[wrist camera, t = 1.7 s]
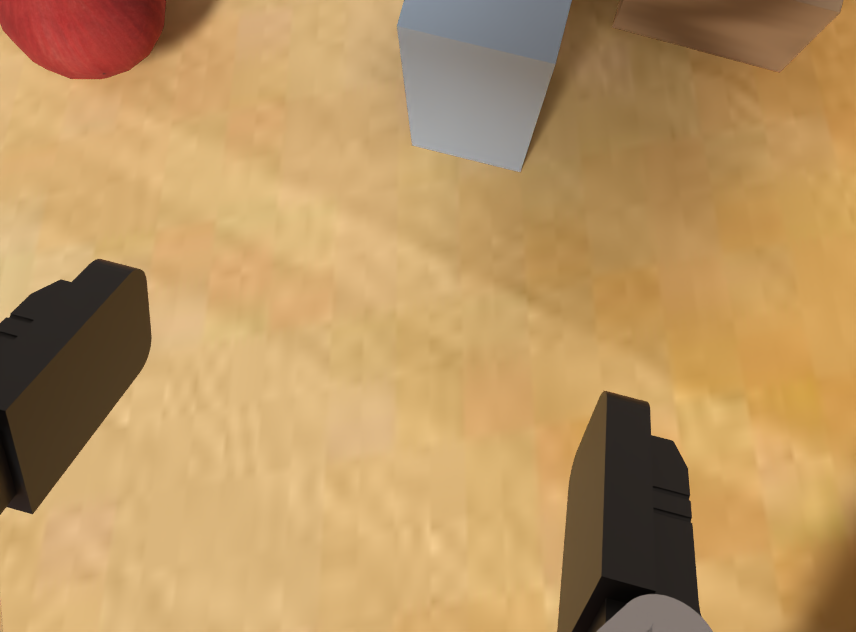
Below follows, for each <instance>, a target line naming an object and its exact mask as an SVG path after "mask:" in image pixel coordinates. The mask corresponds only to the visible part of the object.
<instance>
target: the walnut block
mask: <svg viewBox="0 0 856 632" xmlns="http://www.w3.org/2000/svg"><path fill="white" fill-rule="evenodd" d="M842 3H843V0H619V4H618V7H617V11H616V14H615V18H614V21H613V25H612V27H613V28H617V29H620V30H624V31H628V32H631V33H635V34H639V35H643V36H646V37H650V38H654V39H657V40H661V41H665V42H668V43H672V44H676V45H680V46H683V47H687V48H691V49H694V50H698V51H702V52H706V53H709V54H713V55H717V56H720V57H724V58H728V59H732V60H735V61H739V62H743V63H746V64H750V65H754V66H758V67H761V68H765V69H769V70H772V71H776V72H781V71H782V70H783V69H784V68H785V67H786V66H787V65H788V64H789V63H790V62H791V61H792V60H793V59H794V58H795V57H796V56H797V55H798V54H799V53H800V52H801V51H802V50H803V49H804V48H805V47H806V46H807V45H808V44H809V43H810V42H811V41H812V40H813V39H814V38H815V37H816V36H817V35H818V34H819V33H820V32H821V31H822V30H823V29H824V28H825V27H826V26H827V25H828V24H829V23H830V22H831V21H832V20H833V19H834V18H835V17H836V16H837V15H838V14H839V13H840V11H841V7H842Z"/></svg>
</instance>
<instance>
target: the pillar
mask: <svg viewBox="0 0 856 632" xmlns="http://www.w3.org/2000/svg"><path fill="white" fill-rule="evenodd" d="M571 2H572V0H404V3H403V6H402V10H401V13H400V17H399V20H398V24H397V30H398V38H399V46H400V54H401V62H402V69H403V77H404V85H405V93H406V101H407V109H408V116H409V124H410V132H411V140H412V145H413V146H417V147H421V148H425V149H429V150H433V151H437V152H441V153H445V154H449V155H453V156H457V157H461V158H465V159H469V160H473V161H477V162H481V163H485V164H489V165H493V166H497V167H501V168H505V169H509V170H513V171H517V172H521V168H522V165H523V162H524V159H525V156H526V153H527V150H528V147H529V144H530V141H531V138H532V135H533V132H534V129H535V125H536V122H537V119H538V116H539V113H540V110H541V107H542V104H543V101H544V98H545V95H546V92H547V89H548V85H549V82H550V79H551V76H552V73H553V70H554V67H555V64H556V60H557V56H558V52H559V48H560V44H561V40H562V37H563V33H564V29H565V25H566V21H567V17H568V13H569V9H570V5H571Z"/></svg>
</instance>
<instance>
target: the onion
mask: <svg viewBox="0 0 856 632" xmlns="http://www.w3.org/2000/svg"><path fill="white" fill-rule="evenodd" d="M165 7H166V0H0V24H1V26H2V29H3V31H4V32H5V33H6V34H7V35H8V36H9V37H10V39H11V40H12V41H13V42H14V43H15V44H16V45H17V46H18V47H19V48H20V49H21V50H22V51H23V52H24V53H25V54H26V55H27V56H28V57H29V58H30V59H31V60H32V61H33V62H35V63H37V64H38V65H40V66H42V67H43V68H45V69H47V70H50V71H52V72H55V73H57V74H60V75H62V76H65V77H68V78H70V79H104V78H108V77H111V76H114V75H117V74H120V73H123V72H126V71H129V70H130V69H132V68H133V67H134V66H135V65H137V64H138V63H139V62H141V61H142V60H143V59H144V58H146V57H147V56H148V55H149V54H150V53H151V51H152V49H153V47H154V45H155V44H156V42H157V40H158V38H159V37H160V35H161V32H162V30H163V27H164V19H165Z"/></svg>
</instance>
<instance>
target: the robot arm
mask: <svg viewBox="0 0 856 632" xmlns="http://www.w3.org/2000/svg"><path fill="white" fill-rule="evenodd" d="M150 347H151V325H150V314H149V302H148V291H147V280H146V276H145V273H144V272H143V271H142V270H141V269H137V268H133V267H129V266H126V265H122V264H118V263H114V262H110V261H106V260H102V259H97V260H95V261H93V262H92V263H90V264H89V265H88V266H87V267H86V268H85V269H84V270H83V271H82V272H81V273H80V274H79V275H78V276H77V277H76V278H75V279H74V280H73V281H72V282H68V281H65V280H59V281H57V282H55V283H53V284H51V285H48V286H46V287H44V288H42V289H40V290H38V291H36V292H34V293H32V294H31V295H29V296H28V297H27V298H26V299H25V300H24V301H23V302H22V303H21V304H20V305H19V306H18V307H17V308H16V309H15V310H14V311H13V312H12V313H11V315H10V317H9V318H7V317H6V318H5V319H4V320H3V321H2V322H1V323H0V514H1V513H2V512H3V510H4V509H5V508H6V507H9V508H12V509H16V510H20V511H23V512H27V513H30V514H33V513H34V512H35V511H36V509H37V508H38V507H39V505H40V504H41V503H42V501H43V500H44V499H45V497H46V496H47V495H48V493H49V492H50V491H51V489H52V488H53V487H54V485H55V484H56V483H57V481H58V480H59V479H60V478H61V476H62V475H63V474H64V472H65V471H66V470H67V468H68V467H69V466H70V464H71V463H72V462H73V460H74V459H75V458H76V456H77V455H78V454H79V452H80V451H81V450H82V448H83V447H84V446H85V444H86V443H87V442H88V440H89V439H90V438H91V436H92V435H93V434H94V432H95V431H96V430H97V428H98V427H99V426H100V425H101V423H102V422H103V421H104V419H105V418H106V417H107V415H108V414H109V413H110V411H111V410H112V409H113V407H114V406H115V405H116V403H117V402H118V401H119V399H120V398H121V397H122V395H123V394H124V393H125V391H126V390H127V389H128V387H129V386H130V385H131V383H132V382H133V381H134V379H135V378H136V377H137V375H138V374H139V373H140V371H141V370H142V368H143V367H144V365H145V362H146V360H147V358H148V355H149V351H150ZM689 497H690V489H689V477H688V468H687V466H686V464H685V462H684V460H683V458H682V456H681V455H680V453H679V451H678V449H677V447H676V445H675V443H674V442H673V441H671V440H668V439H664V438H660V437H656V436H652V435H651V422H650V406H649V403H648V402H646V401H642V400H638V399H634V398H631V397H627V396H623V395H619V394H615V393H611V392H607V391H604V392H603V393H602V394H601V396H600V398H599V400H598V402H597V405H596V407H595V409H594V412H593V414H592V416H591V419H590V421H589V424H588V426H587V428H586V431H585V433H584V435H583V438H582V440H581V443H580V445H579V447H578V450H577V452H576V455H575V459H574V462H573V466H572V470H571V475H570V480H569V489H568V502H567V514H566V527H565V540H564V553H563V566H562V579H561V591H560V604H559V617H558V630H557V632H713V631H712V630H711V628H710V627H709V625H708V624H707V623H706V621H705V620H704V619H703V618H702V617H701V614H700V609H699V601H698V589H697V576H696V564H695V551H694V539H693V527H692V523H691V518H692V514H691V502H690V501H689ZM0 632H3V625H2V612H1V599H0Z"/></svg>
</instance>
